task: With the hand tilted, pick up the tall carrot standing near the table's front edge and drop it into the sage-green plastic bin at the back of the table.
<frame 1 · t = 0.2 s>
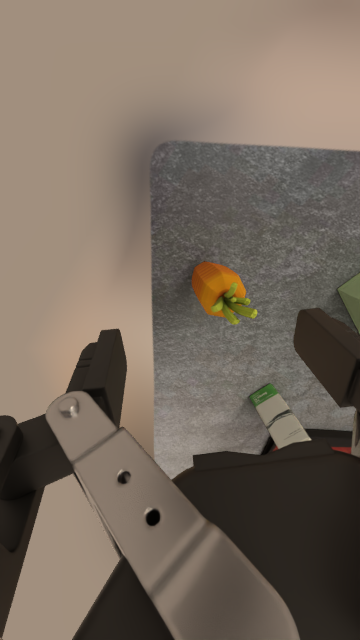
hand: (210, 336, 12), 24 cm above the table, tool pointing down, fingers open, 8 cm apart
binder: (301, 453, 58), on the table
carrot: (199, 268, 36), on the table
ink box: (268, 401, 49), on the table
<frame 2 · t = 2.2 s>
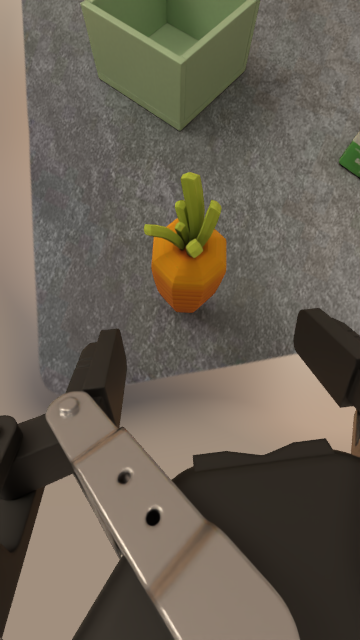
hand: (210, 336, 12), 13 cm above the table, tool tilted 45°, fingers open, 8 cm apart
carrot: (184, 306, 26), on the table
bin: (172, 74, 34), on the table
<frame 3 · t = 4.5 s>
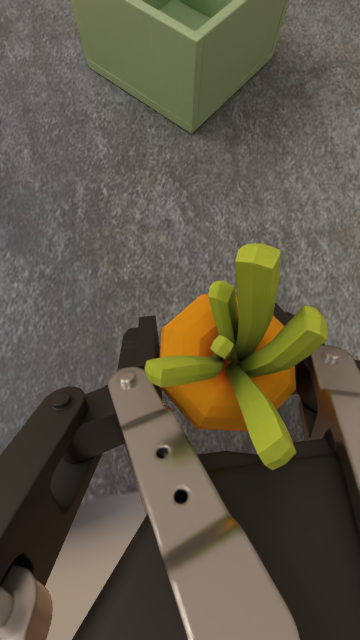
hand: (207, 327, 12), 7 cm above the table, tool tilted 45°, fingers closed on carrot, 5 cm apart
carrot: (199, 375, 19), on the table, touching gripper
bin: (181, 62, 27), on the table
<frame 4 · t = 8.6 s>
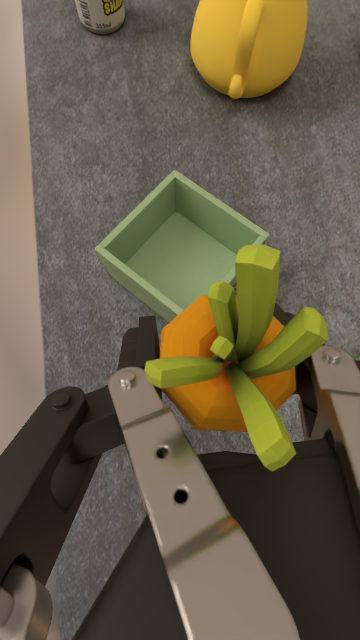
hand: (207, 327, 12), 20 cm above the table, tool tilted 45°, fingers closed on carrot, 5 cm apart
carrot: (199, 375, 19), point 13 cm above the table, touching gripper
bin: (181, 269, 35), on the table
teapot: (242, 63, 45), on the table
beverage can: (105, 20, 47), on the table
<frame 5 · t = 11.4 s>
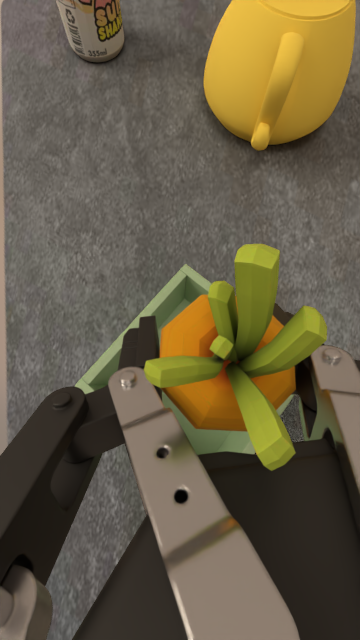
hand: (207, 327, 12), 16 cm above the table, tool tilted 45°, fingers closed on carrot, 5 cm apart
carrot: (199, 375, 19), point 8 cm above the table, touching gripper
bin: (192, 377, 27), on the table
teapot: (264, 99, 37), on the table
beverage can: (101, 45, 40), on the table
when the fingers open (12 cm above the table, at t = 12.9 s): carrot drops 4 cm, resting on bin.
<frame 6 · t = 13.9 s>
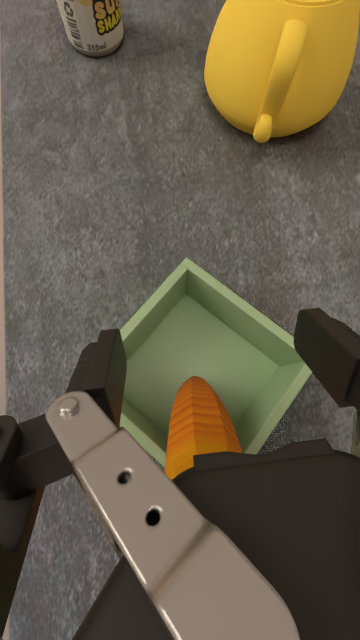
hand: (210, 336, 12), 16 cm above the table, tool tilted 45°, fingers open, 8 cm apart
carrot: (194, 377, 25), point 1 cm above the table, touching bin
bin: (194, 374, 27), on the table
teapot: (266, 92, 37), on the table
beverage can: (100, 39, 39), on the table
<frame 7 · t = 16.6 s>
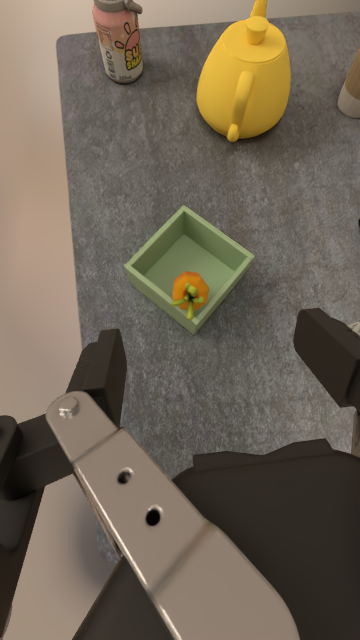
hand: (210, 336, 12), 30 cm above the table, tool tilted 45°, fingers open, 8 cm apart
carrot: (187, 279, 43), point 1 cm above the table, touching bin
bin: (188, 280, 44), on the table
teapot: (239, 108, 55), on the table
beverage can: (126, 71, 57), on the table
coffee cup: (353, 106, 55), on the table
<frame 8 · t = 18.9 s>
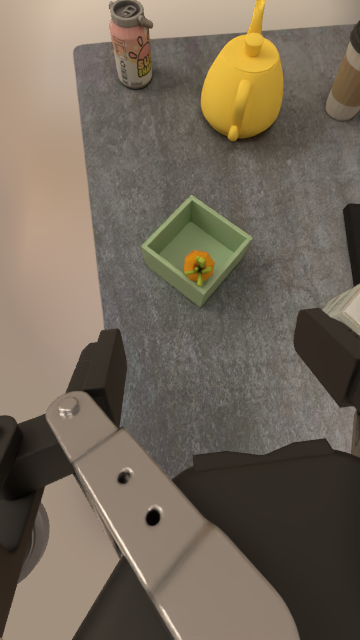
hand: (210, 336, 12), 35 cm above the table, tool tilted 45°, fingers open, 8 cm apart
carrot: (194, 260, 50), point 1 cm above the table, touching bin
ink box: (325, 324, 48), on the table
bin: (194, 261, 51), on the table
teapot: (238, 111, 61), on the table
beverage can: (137, 77, 64), on the table
coffee cup: (339, 110, 62), on the table
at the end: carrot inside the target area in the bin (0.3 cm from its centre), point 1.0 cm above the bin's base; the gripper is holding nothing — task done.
